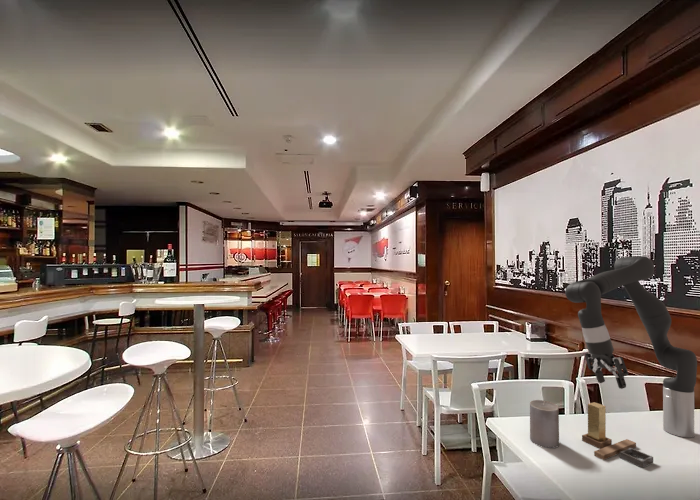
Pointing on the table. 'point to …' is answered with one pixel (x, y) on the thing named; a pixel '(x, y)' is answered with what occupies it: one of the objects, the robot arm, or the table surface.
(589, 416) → the tan wooden block
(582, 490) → the table surface
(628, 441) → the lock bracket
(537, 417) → the pillar candle
